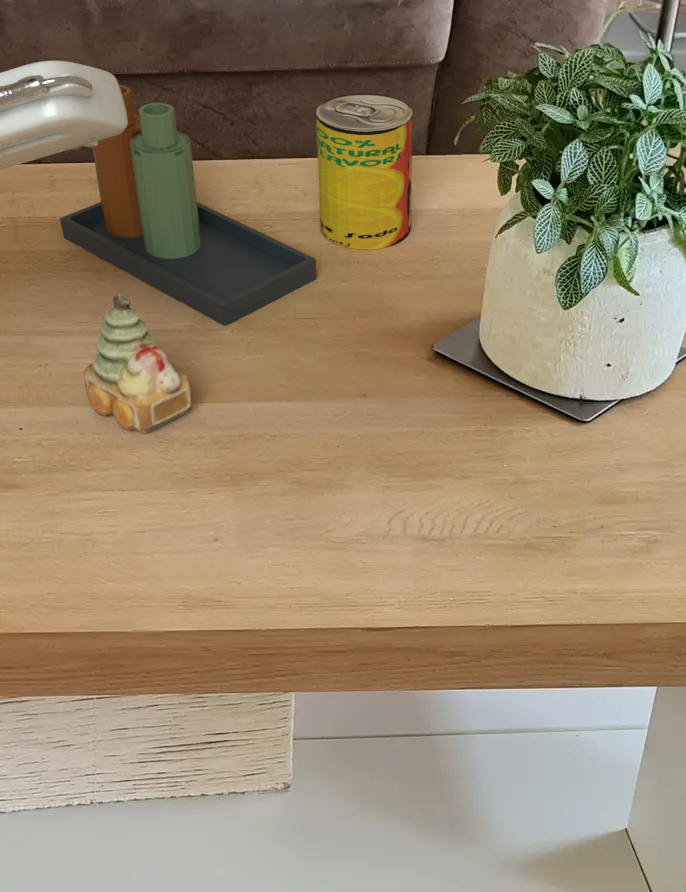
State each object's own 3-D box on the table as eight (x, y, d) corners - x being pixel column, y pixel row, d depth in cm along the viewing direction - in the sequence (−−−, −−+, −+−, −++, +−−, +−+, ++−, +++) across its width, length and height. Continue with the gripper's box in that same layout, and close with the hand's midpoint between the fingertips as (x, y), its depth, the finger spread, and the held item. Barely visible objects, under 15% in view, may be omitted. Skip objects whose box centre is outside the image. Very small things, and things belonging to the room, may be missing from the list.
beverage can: (392, 256, 112) (393, 137, 104) (305, 239, 114) (300, 122, 106) (422, 215, 118) (425, 101, 111) (340, 200, 120) (337, 87, 113)
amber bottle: (95, 230, 114) (71, 90, 105) (138, 212, 117) (119, 75, 108) (129, 248, 111) (107, 106, 103) (172, 229, 114) (154, 90, 106)
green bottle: (134, 251, 111) (113, 109, 102) (177, 232, 114) (160, 93, 105) (170, 270, 108) (151, 126, 100) (212, 250, 111) (198, 109, 103)
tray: (63, 237, 112) (59, 217, 111) (155, 199, 119) (153, 180, 118) (225, 326, 101) (222, 305, 100) (316, 278, 108) (316, 258, 107)
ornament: (207, 409, 92) (194, 299, 85) (150, 447, 88) (132, 335, 81) (135, 374, 95) (117, 266, 89) (77, 410, 91) (54, 299, 85)
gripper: (47, 15, 63) (151, 65, 77) (-272, 118, 67) (-119, 148, 80) (78, 131, 64) (176, 160, 77) (-240, 226, 67) (-94, 238, 81)
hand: (23, 155), depth 79 cm, fingers open, 8 cm apart
